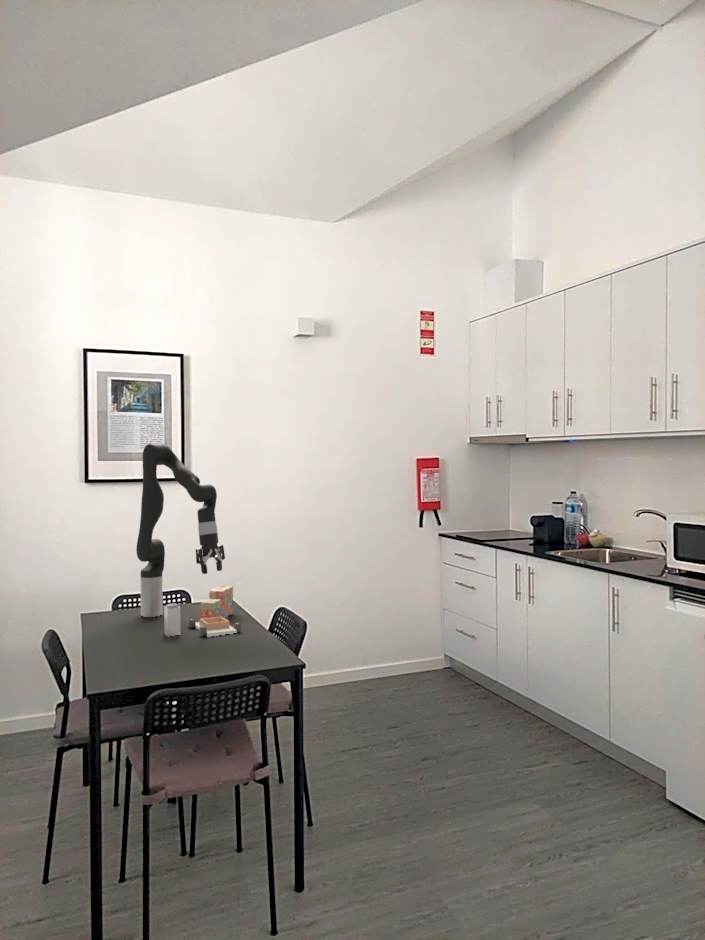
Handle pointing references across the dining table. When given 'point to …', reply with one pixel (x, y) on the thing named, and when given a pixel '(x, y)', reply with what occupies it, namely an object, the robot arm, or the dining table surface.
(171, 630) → the grey tall block
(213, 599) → the stack of blocks
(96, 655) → the dining table surface
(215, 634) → the chassis
